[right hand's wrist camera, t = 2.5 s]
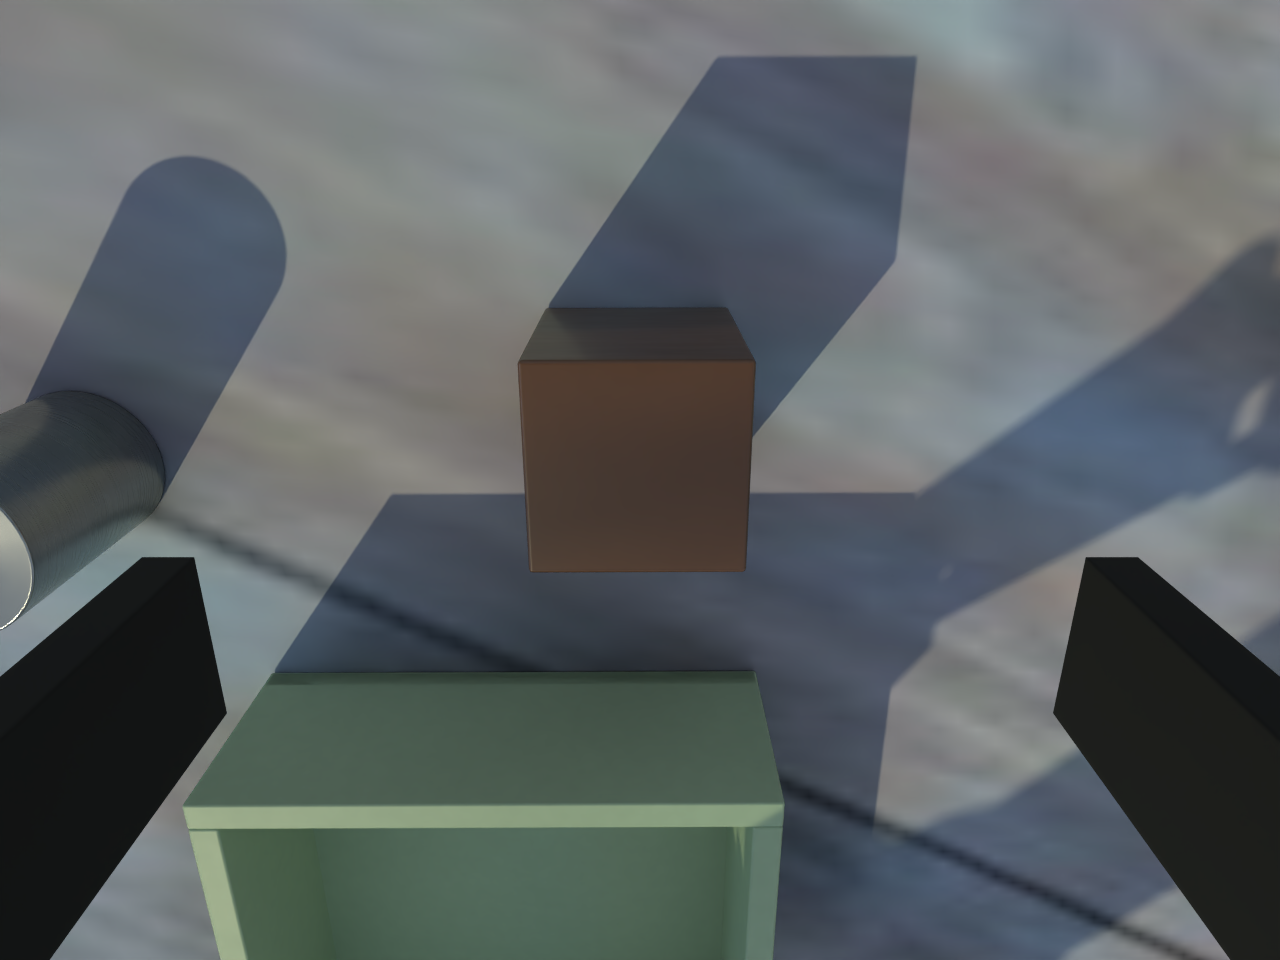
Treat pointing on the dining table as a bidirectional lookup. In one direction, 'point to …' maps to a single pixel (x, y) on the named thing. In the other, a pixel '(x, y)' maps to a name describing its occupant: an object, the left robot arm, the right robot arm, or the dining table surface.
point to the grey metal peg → (68, 490)
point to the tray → (493, 818)
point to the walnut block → (637, 440)
